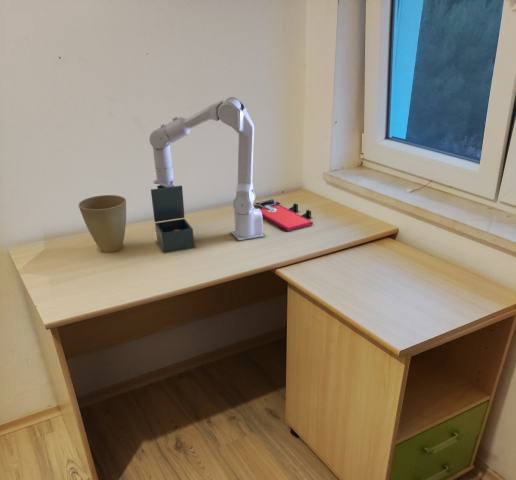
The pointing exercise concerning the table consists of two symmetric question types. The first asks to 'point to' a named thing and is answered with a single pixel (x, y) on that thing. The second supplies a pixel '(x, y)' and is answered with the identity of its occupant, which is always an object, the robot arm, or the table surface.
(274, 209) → the red board with handle
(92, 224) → the plant pot
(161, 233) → the bin
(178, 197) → the bin lid
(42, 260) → the table surface
